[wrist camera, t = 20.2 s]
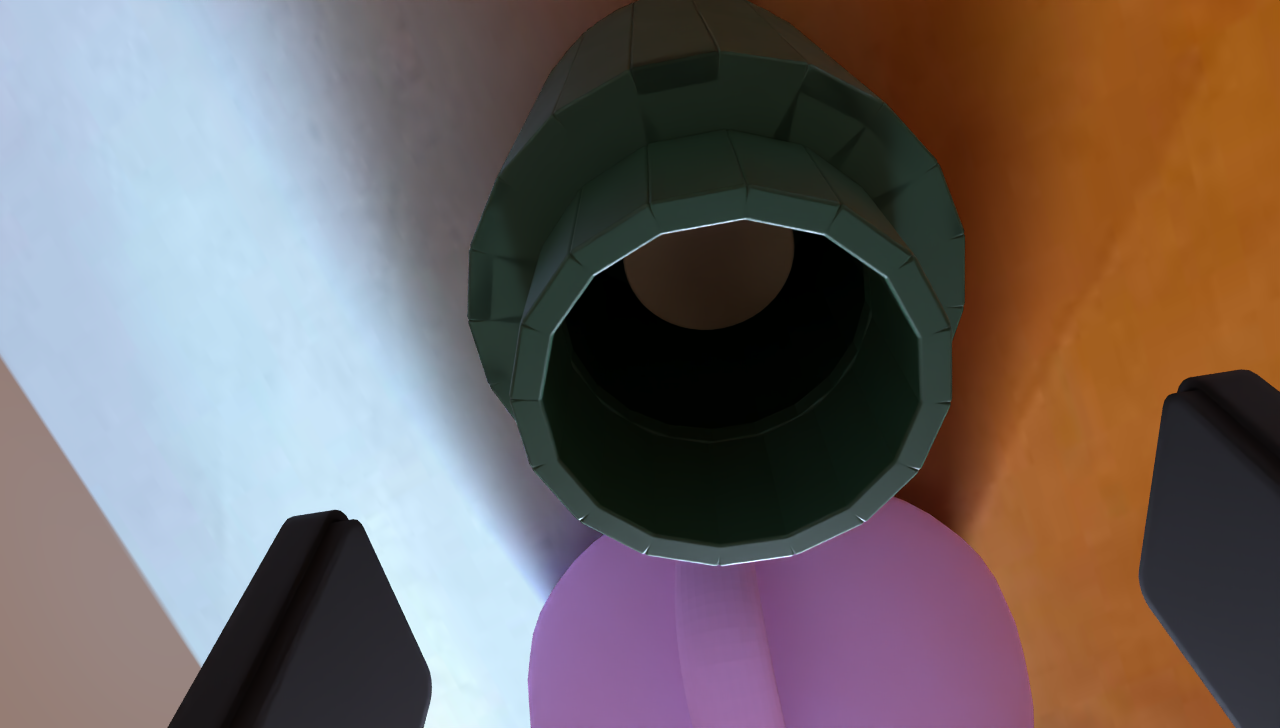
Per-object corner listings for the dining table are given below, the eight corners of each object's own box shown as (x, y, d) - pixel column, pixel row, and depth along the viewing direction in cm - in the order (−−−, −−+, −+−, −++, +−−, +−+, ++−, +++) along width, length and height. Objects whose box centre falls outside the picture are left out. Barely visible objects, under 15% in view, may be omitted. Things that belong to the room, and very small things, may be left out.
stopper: (638, 243, 24) (642, 344, 19) (609, 116, 22) (605, 193, 17) (765, 216, 24) (804, 313, 19) (746, 85, 22) (784, 154, 17)
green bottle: (570, 324, 26) (518, 645, 15) (494, 28, 22) (340, 167, 11) (853, 275, 25) (1025, 577, 14) (832, -42, 21) (1055, 28, 10)
